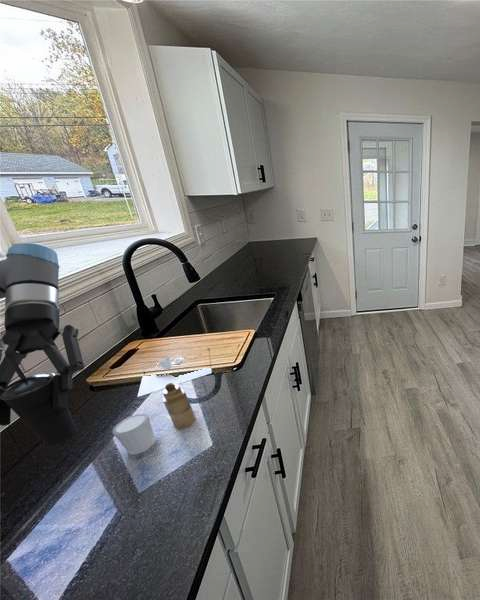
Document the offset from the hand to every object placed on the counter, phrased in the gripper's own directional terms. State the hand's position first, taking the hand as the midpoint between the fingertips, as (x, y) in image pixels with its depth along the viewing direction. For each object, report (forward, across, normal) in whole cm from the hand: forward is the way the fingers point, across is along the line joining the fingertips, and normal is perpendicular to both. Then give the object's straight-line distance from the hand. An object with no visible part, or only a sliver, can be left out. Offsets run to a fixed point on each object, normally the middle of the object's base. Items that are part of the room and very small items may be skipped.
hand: (31, 416), depth 60 cm
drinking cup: (+4, 0, -9) cm, 9 cm away
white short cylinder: (+9, -10, -19) cm, 23 cm away
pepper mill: (+6, -18, -21) cm, 29 cm away
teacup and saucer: (-15, -12, -44) cm, 48 cm away
